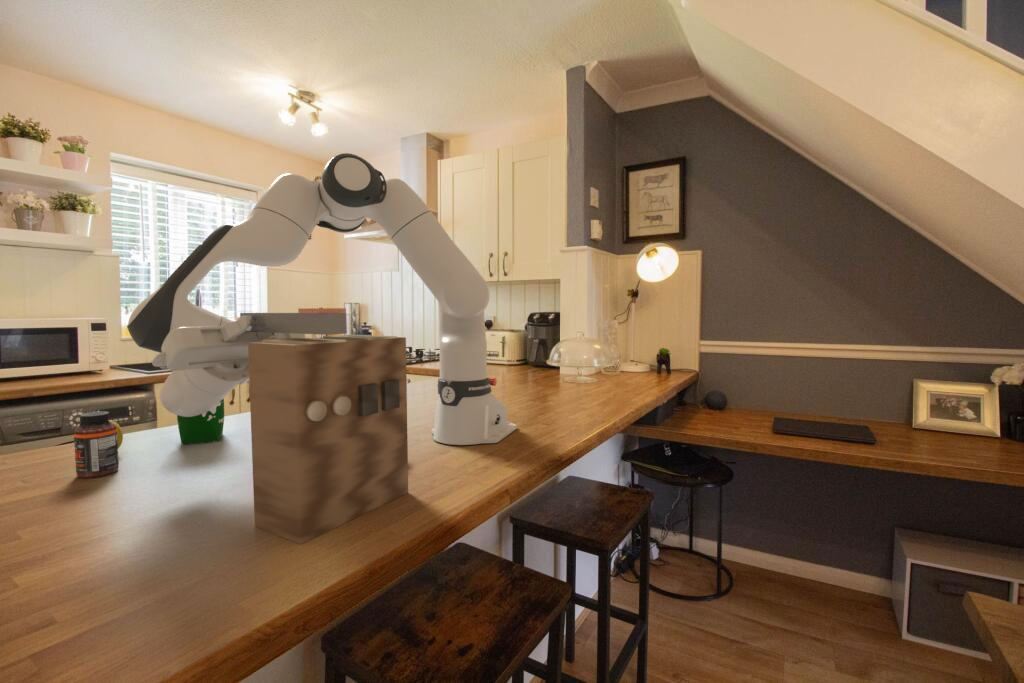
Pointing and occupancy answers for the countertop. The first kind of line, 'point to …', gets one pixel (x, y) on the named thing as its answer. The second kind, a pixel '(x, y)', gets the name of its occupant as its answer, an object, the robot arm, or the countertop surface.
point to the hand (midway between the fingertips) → (264, 319)
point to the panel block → (326, 430)
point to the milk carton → (202, 425)
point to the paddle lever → (302, 321)
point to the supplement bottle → (96, 445)
